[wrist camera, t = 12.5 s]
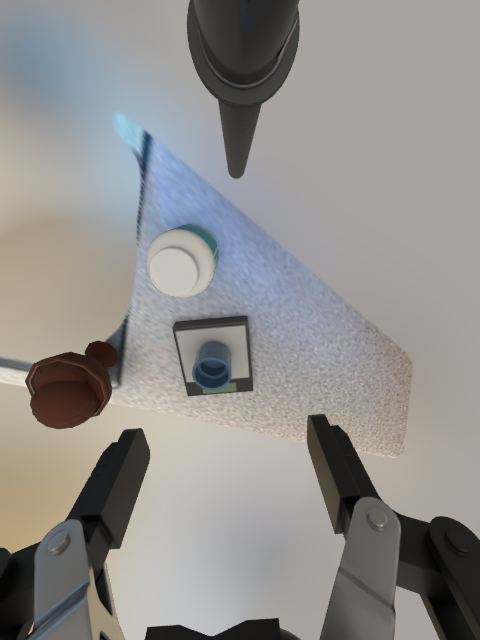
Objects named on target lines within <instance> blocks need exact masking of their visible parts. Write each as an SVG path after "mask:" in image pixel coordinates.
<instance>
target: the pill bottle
mask: <svg viewBox="0 0 480 640" xmlns="http://www.w3.org/2000/svg"><path fill="white" fill-rule="evenodd" d="M218 258H219V248H218V244H217V241H216V239H215V238H214V236H213V235H212V234H211V233H210V232H209V231H208V230H207V229H205V228H203V227H201V226H198V225H193V224H190V225H184V226H181V227H178V228H175V229H172V230H169V231H166V232H164V233H162V234H160V235H159V236H157V237H156V238H155V239H154V240H153V242H152V243H151V244H150V246H149V248H148V251H147V255H146V267H147V271H148V274H149V276H150V278H151V280H152V282H153V284H154V285H155V286H156V287H157V288H158V289H159V290H160V291H161V292H163V293H165V294H168V295H170V296H173V297H178V298H188V297H192V296H195V295H198V294H199V293H201V292H202V291H204V290H205V289H206V288H207V287H208V285H209V284H210V282H211V280H212V278H213V275H214V272H215V269H216V265H217V262H218Z"/></svg>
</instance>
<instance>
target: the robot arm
mask: <svg viewBox="0 0 480 640" xmlns="http://www.w3.org/2000/svg"><path fill="white" fill-rule="evenodd" d="M193 1H194V6H195V11H196V17H197V22H198V31H199V38H200V43H201V48H202V51H203V54H204V57H205V60H206V62H207V64H208V66H209V68H210V69H211V71H212V72H213V74H214V75H215V76H216V77H217V78H218V79H219V80H220V81H221V82H222V83H224V84H225V85H227V86H229V87H231V88H234V89H238V90H250V89H254V88H256V87H259V86H260V85H262V84H263V83H265V82H266V81H267V80H268V79H269V78H270V77H271V76H272V75H273V74H274V72H275V71H276V69H277V68H278V66H279V64H280V62H281V60H282V57H283V55H284V51H285V48H286V45H287V42H288V40H289V38H290V36H291V34H292V32H293V30H294V28H295V26H296V23H297V20H298V18H297V20H296V23H295V25H294V27H293V29H292V31H291V33H290V35H289V32H290V29H291V26H292V23H293V20H294V16H295V13H296V10H297V7H298V3H299V0H193ZM298 17H299V16H298ZM288 35H289V37H288ZM307 444H308V449H309V453H310V456H311V459H312V462H313V465H314V469H315V472H316V475H317V478H318V481H319V485H320V488H321V491H322V494H323V497H324V500H325V504H326V507H327V510H328V513H329V517H330V520H331V523H332V526H333V529H334V532H335V534H341V533H343V535H344V538H345V540H346V543H345V547H344V550H343V554H342V558H341V562H340V566H339V568H338V571H337V575H336V579H335V582H334V586H333V590H332V594H331V597H330V601H329V605H328V609H327V613H326V617H325V621H324V625H323V628H322V632H321V636H320V640H394V632H395V609H394V599H395V589H396V586H399V587H402V588H405V589H407V590H410V591H413V592H416V593H418V594H420V596H421V598H422V601H423V603H424V605H425V607H426V610H427V612H428V614H429V617H430V619H431V621H432V623H433V625H434V628H435V630H436V632H437V634H438V637H439V639H440V640H480V540H479V539H478V538H477V536H476V535H475V534H474V533H473V532H472V531H470V530H469V529H468V528H467V527H466V526H464V525H463V524H461V523H460V522H458V521H456V520H454V519H451V518H448V517H444V516H439V517H435V518H434V519H432V521H431V522H430V523H428V522H424V521H420V520H417V519H413V518H410V517H406V516H404V515H401V514H399V513H397V512H395V511H394V510H392V509H391V508H390V507H389V506H388V505H387V504H385V503H384V502H383V501H382V499H381V498H380V497H379V495H378V493H377V492H376V490H375V488H374V486H373V484H372V482H371V480H370V478H369V476H368V474H367V472H366V470H365V468H364V466H363V464H362V462H361V460H360V458H359V457H358V454H357V452H356V450H355V449H354V448H353V445H352V443H351V441H350V439H349V437H348V435H347V434H346V433H345V432H344V431H343V430H342V429H341V428H340V427H339V426H338V425H334V426H330V424H329V422H328V420H327V418H326V416H325V415H324V414H318V415H308V422H307ZM149 460H150V449H149V446H148V444H147V441H146V438H145V435H144V432H143V430H142V429H141V428H138V429H126V430H124V431H123V432H122V434H121V436H120V438H119V440H118V442H114V443H112V444H111V445H110V446H109V447H108V448H107V449H106V450H105V451H104V452H103V453H102V455H101V457H100V458H99V460H98V462H97V464H96V467H95V468H94V470H93V471H92V473H91V476H90V477H89V479H88V481H87V482H86V484H85V486H84V488H83V489H82V492H81V493H80V495H79V497H78V499H77V500H76V502H75V504H74V506H73V508H72V510H71V511H70V513H69V515H68V517H67V518H66V520H65V521H64V522H61V523H60V524H58V525H57V526H55V527H54V528H53V529H52V530H51V531H50V532H48V533H47V535H46V536H45V537H44V538H43V540H42V541H40V542H38V543H36V544H34V545H31V546H29V547H27V548H24V549H22V550H19V551H17V552H15V553H13V554H10V552H9V551H8V550H7V549H5V548H0V640H125V638H124V635H123V632H122V630H121V627H120V625H119V622H118V618H117V614H116V610H115V605H114V600H113V595H112V590H111V585H110V580H109V575H108V570H107V566H106V562H105V560H106V557H107V554H108V552H109V549H120V547H121V544H122V541H123V538H124V535H125V532H126V529H127V526H128V523H129V520H130V517H131V514H132V511H133V508H134V505H135V502H136V499H137V497H138V493H139V491H140V488H141V484H142V482H143V479H144V476H145V473H146V470H147V467H148V464H149ZM33 622H34V626H33V630H32V632H31V633H30V634H29V635H28V633H29V631H30V629H31V627H32V624H33ZM145 640H300V639H299V638H298V637H296V636H295V635H293V634H292V633H290V632H288V631H286V630H283V629H281V628H280V627H279V619H278V618H275V619H259V620H246V621H244V622H242V623H240V624H238V625H236V626H234V627H232V628H230V629H228V630H226V631H224V632H222V633H220V634H218V635H215V636H207V635H205V634H202V633H199V632H197V631H194V630H191V629H189V628H186V627H183V626H181V625H173V626H157V627H148V628H147V632H146V637H145Z"/></svg>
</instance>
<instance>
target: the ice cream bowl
mask: <svg viewBox="0 0 480 640" xmlns="http://www.w3.org/2000/svg"><path fill="white" fill-rule="evenodd" d="M85 355H86V356H85ZM85 355H81V354H77V353H73V352H68V353H63V354H60V355H56V356H53V357H49V358H46V359H43V360H41V361H39V362H37V363H34V364H33V366H32V368H31V370H30V372H29V374H28V376H27V378H26V380H25V382H26V385H27V387H28V389H29V392H30V394H31V396H32V398H31V402H30V406H31V408H32V413H33V415H34V416H35V417H36V418H37V420H38V421H39V422H41V423H42V424H44V425H45V426H47V427H51V428H55V429H65V428H73V427H75V426H78V425H80V424H81V423H84V422H85V421H87V420H88V419H89V418H90V417H94V416H98V415H99V414H100V413H101V412H102V410H103V408H104V407H105V406H106V404H107V403H108V401H109V399H110V397H111V394H112V386H111V382H110V378H109V374H108V371H107V370H106V369H105V368H108V367H112V366H114V364H115V363H116V361H117V360H118V356H117V351H116V350H115V349H114V348H113V347H112V346H111V345H110V344H109V343H105V342H101V341H96V342H92V343H89V345H88V347H87V348H86V350H85Z"/></svg>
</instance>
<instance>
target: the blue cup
mask: <svg viewBox="0 0 480 640" xmlns="http://www.w3.org/2000/svg"><path fill="white" fill-rule="evenodd" d="M231 377H232V354H231V352H230V351H229V349H228V348H227V347H226V346H224V345H223V344H220V343H216V342H213V343H207V344H205V345H203V346H201V347H200V349H199V350H198V351H197V354H196V358H195V362H194V365H193V369H192V378H193V380H194V381H195V383H196V384H197V385H198V386H200V387H201V388H203V389H207V390H219V389H221V388H223V387H225V386H226V385H227V384H228V383H229V382H230V380H231Z"/></svg>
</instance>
